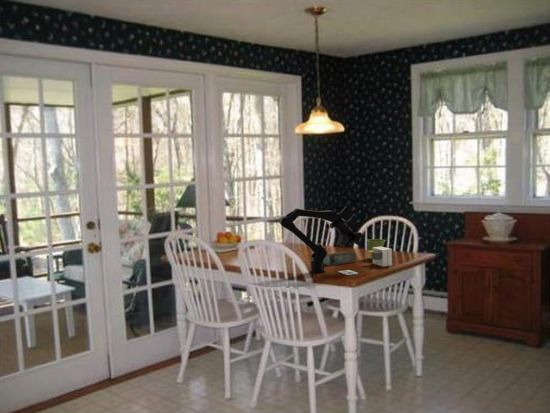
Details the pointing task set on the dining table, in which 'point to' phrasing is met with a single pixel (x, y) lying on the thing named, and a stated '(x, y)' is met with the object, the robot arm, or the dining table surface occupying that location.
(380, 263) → the console
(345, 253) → the beverage carton
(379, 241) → the plant pot
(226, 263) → the dining table surface
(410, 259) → the dining table surface
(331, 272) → the dining table surface
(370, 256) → the amber button
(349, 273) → the card
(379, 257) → the charcoal button
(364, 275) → the dining table surface
